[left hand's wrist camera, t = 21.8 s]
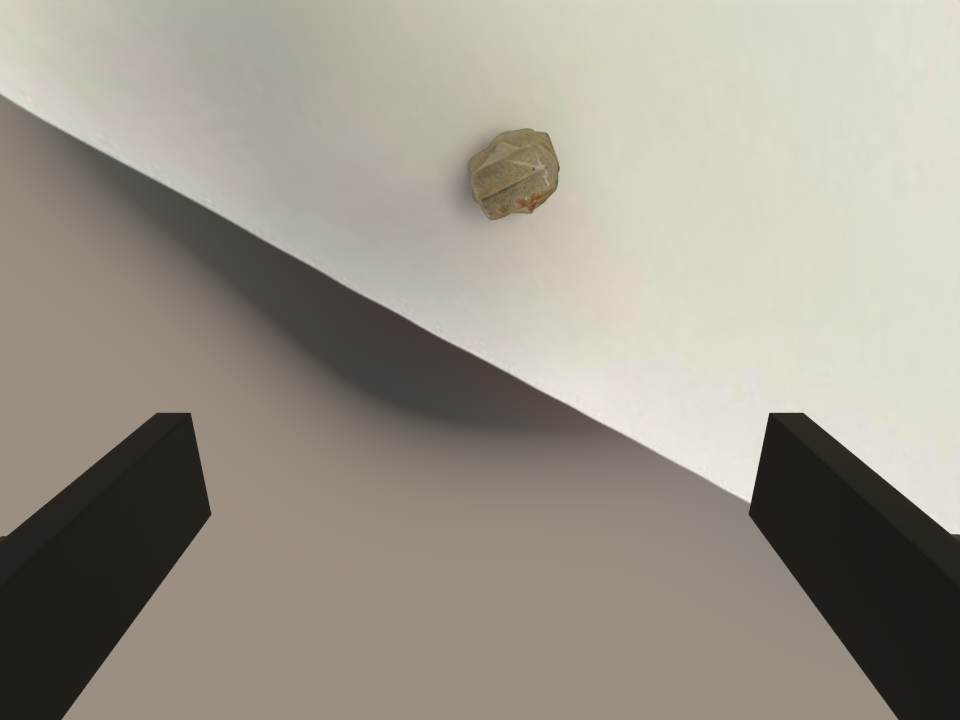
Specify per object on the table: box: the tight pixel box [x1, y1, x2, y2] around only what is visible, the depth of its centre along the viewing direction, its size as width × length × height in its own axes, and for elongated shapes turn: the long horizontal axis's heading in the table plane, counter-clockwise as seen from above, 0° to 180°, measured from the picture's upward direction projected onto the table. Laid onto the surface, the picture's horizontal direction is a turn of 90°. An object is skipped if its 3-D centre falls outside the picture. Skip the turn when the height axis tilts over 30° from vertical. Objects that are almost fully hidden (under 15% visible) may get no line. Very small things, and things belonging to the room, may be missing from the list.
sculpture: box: [469, 129, 560, 220], centre depth 42 cm, size 6×7×15 cm
